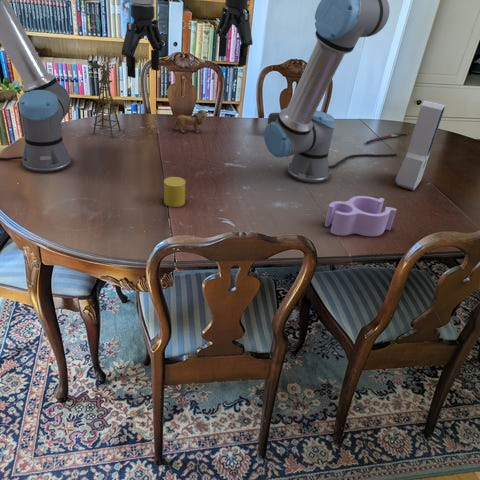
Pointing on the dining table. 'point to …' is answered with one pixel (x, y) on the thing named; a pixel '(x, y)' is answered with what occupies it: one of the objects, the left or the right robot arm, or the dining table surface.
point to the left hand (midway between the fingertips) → (143, 73)
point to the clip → (359, 216)
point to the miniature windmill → (105, 81)
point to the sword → (384, 137)
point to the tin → (174, 191)
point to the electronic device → (420, 145)
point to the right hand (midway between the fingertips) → (231, 60)
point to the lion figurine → (191, 120)
